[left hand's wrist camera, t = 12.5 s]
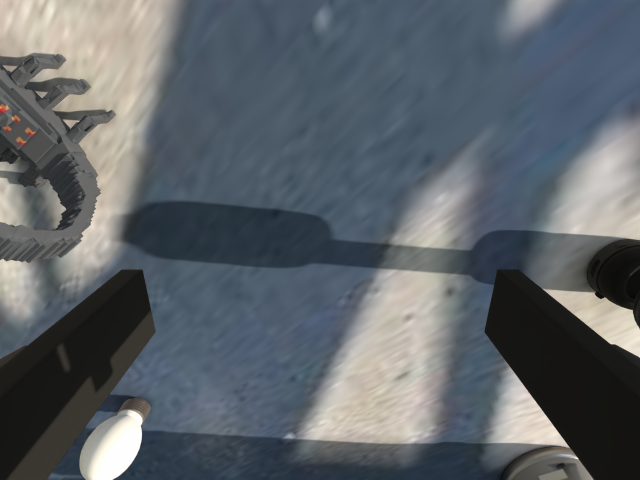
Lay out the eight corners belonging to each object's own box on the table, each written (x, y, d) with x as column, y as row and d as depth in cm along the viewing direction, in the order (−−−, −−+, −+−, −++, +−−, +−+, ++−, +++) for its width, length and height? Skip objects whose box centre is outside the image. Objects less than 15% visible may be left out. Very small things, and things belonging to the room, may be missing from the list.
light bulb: (151, 388, 51) (108, 458, 41) (164, 420, 53) (127, 494, 43) (108, 392, 51) (55, 463, 41) (123, 424, 54) (77, 499, 44)
